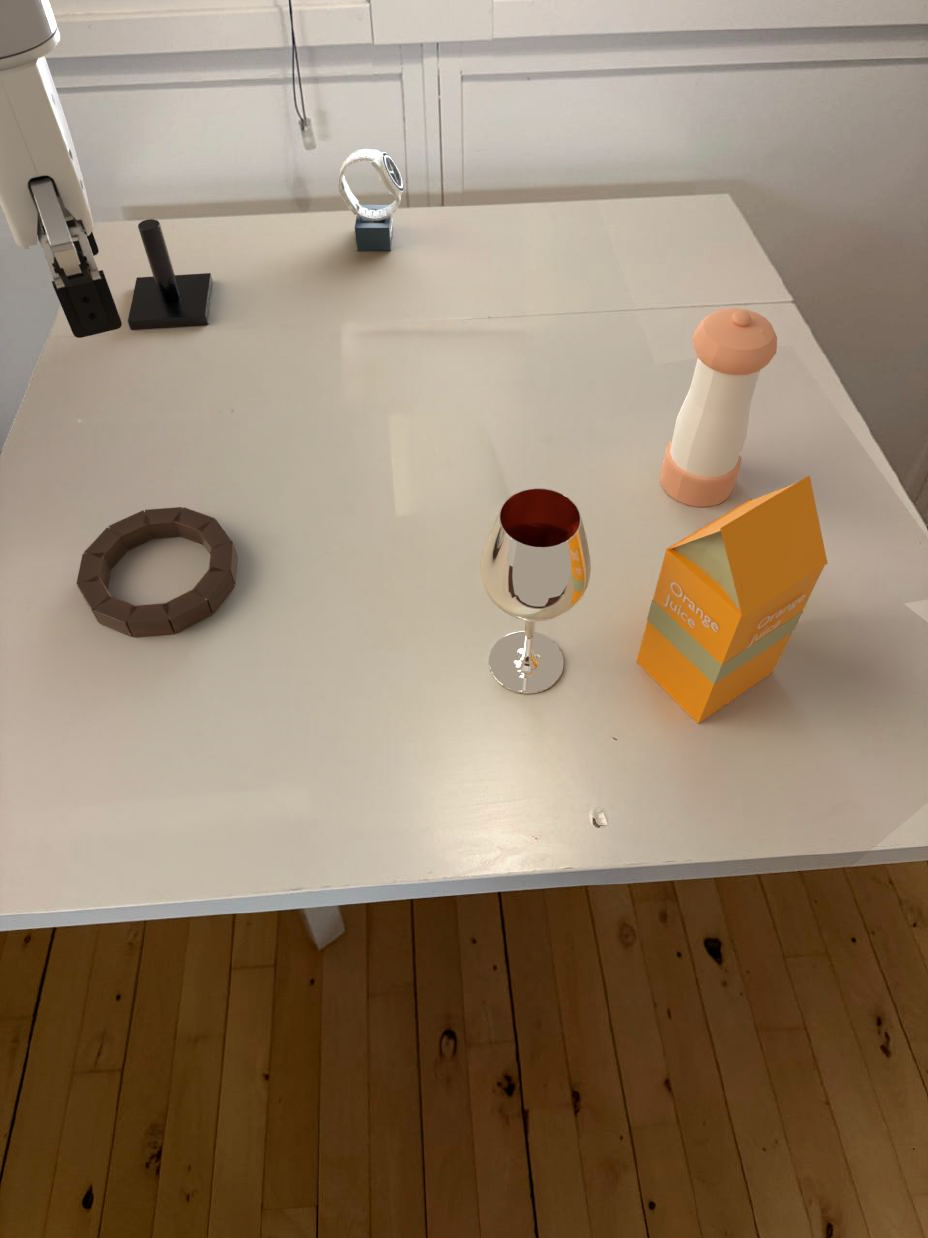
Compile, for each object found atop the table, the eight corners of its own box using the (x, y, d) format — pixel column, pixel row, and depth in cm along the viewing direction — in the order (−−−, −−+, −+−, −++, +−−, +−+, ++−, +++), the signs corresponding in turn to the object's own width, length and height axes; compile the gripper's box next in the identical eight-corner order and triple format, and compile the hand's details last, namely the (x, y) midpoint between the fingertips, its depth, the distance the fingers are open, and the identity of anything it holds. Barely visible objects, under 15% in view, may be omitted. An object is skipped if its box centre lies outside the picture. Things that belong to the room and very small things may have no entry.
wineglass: (561, 618, 80) (582, 469, 65) (584, 696, 75) (613, 553, 60) (470, 631, 79) (471, 483, 64) (488, 710, 74) (493, 569, 60)
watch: (406, 250, 115) (401, 164, 106) (343, 250, 115) (333, 164, 106) (408, 227, 119) (403, 141, 110) (347, 227, 119) (337, 141, 110)
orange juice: (634, 661, 77) (678, 494, 61) (709, 613, 80) (769, 442, 64) (699, 726, 73) (763, 566, 57) (775, 673, 76) (856, 508, 60)
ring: (75, 642, 78) (66, 628, 77) (97, 527, 86) (90, 513, 85) (232, 629, 79) (227, 615, 77) (240, 517, 87) (235, 502, 86)
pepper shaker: (716, 451, 92) (765, 283, 77) (744, 500, 88) (802, 333, 73) (649, 461, 92) (685, 294, 76) (674, 512, 87) (718, 345, 72)
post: (130, 329, 105) (101, 248, 97) (139, 285, 111) (113, 205, 103) (207, 324, 106) (186, 243, 98) (213, 281, 111) (192, 201, 103)
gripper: (-98, -26, 54) (19, 242, 67) (-84, 92, 44) (49, 377, 58) (32, -45, 55) (120, 221, 69) (72, 65, 46) (165, 348, 59)
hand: (87, 292), depth 63 cm, fingers open, 9 cm apart
